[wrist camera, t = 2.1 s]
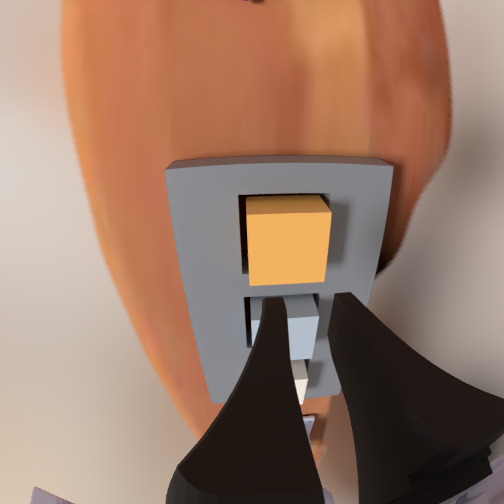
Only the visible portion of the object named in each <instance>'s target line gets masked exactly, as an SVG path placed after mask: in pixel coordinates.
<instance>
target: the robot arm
mask: <svg viewBox="0 0 504 504" xmlns="http://www.w3.org/2000/svg"><path fill="white" fill-rule="evenodd" d="M327 336H328V341H329V346H330V351H331V356H332V360H333V363H334V366H335V369H336V372H337V375H338V379H339V382H340V385H341V388H342V391H343V394H344V397H345V400H346V403H347V407H348V411H349V415H350V420H351V425H352V431H353V437H354V444H355V451H356V460H357V471H358V485H359V504H448V503H450V502H452V501H454V500H456V499H457V501H456V504H504V454H503V455H502V456H500V457H499V458H497V459H496V460H494V461H493V462H491V463H489V460H488V458H487V457H488V456H489V455H491V450H490V447H489V446H490V445H491V444H492V443H493V442H495V441H496V440H497V439H498V438H499V437H500V436H502V435H503V434H504V399H503V398H501V397H498V396H495V395H492V394H490V393H487V392H484V391H482V390H480V389H477V388H475V387H473V386H471V385H469V384H467V383H465V382H463V381H461V380H459V379H457V378H455V377H454V376H452V375H450V374H449V373H447V372H445V371H444V370H442V369H440V368H439V367H437V366H436V365H434V364H433V363H431V362H430V361H428V360H427V359H425V358H424V357H423V356H421V355H420V354H419V353H417V352H416V351H414V350H413V349H412V348H411V347H409V346H408V345H407V344H406V343H405V342H404V341H402V340H401V339H400V338H399V337H397V335H395V334H394V333H393V332H392V331H391V330H390V329H389V328H388V327H386V326H385V325H384V324H383V323H382V322H381V321H380V320H379V319H378V318H377V317H376V316H375V315H374V314H373V313H372V312H371V311H370V310H369V309H368V308H367V307H366V306H365V305H364V304H363V303H362V302H361V301H360V300H359V299H358V298H357V297H356V296H354V295H353V294H352V293H351V292H343V293H335V294H334V300H333V305H332V311H331V316H330V321H329V327H328V332H327ZM314 421H315V416H302V412H301V407H300V403H299V399H298V394H297V390H296V385H295V381H294V376H293V371H292V366H291V358H290V346H289V331H288V318H287V309H286V305H285V302H284V299H283V297H266V298H264V299H263V300H262V313H261V318H260V323H259V327H258V331H257V334H256V337H255V341H254V344H253V347H252V349H251V352H250V354H249V357H248V360H247V362H246V364H245V367H244V369H243V371H242V373H241V375H240V377H239V379H238V381H237V383H236V385H235V387H234V389H233V391H232V393H231V394H230V396H229V398H228V400H227V401H226V403H225V405H224V406H223V408H222V409H221V411H220V413H219V414H218V416H217V417H216V418H215V420H214V421H213V423H212V424H211V425H210V427H209V428H208V430H207V431H206V432H205V434H204V435H203V436H202V438H201V439H200V440H199V441H198V443H197V444H196V445H195V446H194V447H193V448H192V450H191V451H190V452H189V453H188V454H187V455H186V456H185V458H184V459H183V460H182V461H181V462H180V463H179V464H178V466H177V468H176V470H175V472H174V474H173V477H172V479H171V482H170V484H169V488H168V491H167V495H166V504H335V503H334V499H333V496H332V494H331V493H330V492H329V491H328V490H327V489H325V488H322V485H321V481H320V478H319V475H318V472H317V468H316V465H315V461H314V458H313V454H312V449H311V443H310V436H309V435H310V432H311V429H312V426H313V423H314ZM30 504H74V503H71V502H69V501H67V500H64V499H62V498H60V497H58V496H55V495H53V494H50V493H49V492H46V491H44V490H42V489H40V488H38V487H34V488H33V492H32V496H31V501H30Z"/></svg>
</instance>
